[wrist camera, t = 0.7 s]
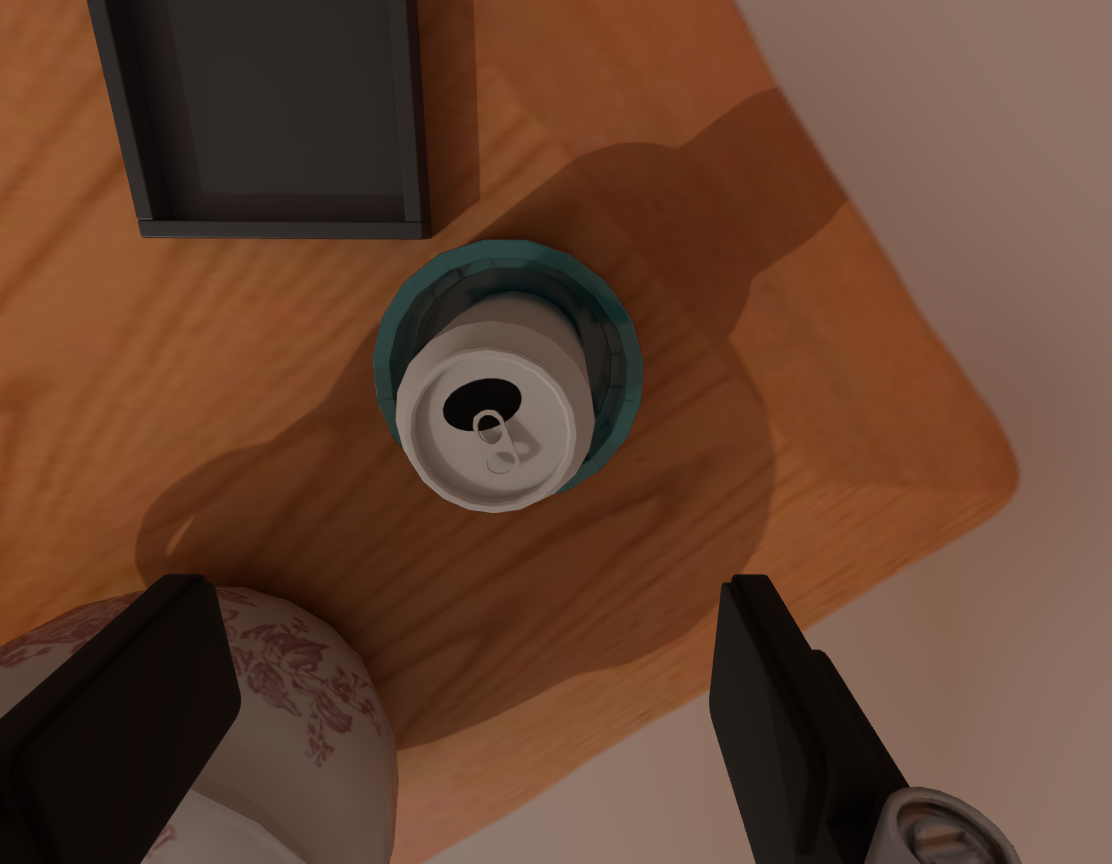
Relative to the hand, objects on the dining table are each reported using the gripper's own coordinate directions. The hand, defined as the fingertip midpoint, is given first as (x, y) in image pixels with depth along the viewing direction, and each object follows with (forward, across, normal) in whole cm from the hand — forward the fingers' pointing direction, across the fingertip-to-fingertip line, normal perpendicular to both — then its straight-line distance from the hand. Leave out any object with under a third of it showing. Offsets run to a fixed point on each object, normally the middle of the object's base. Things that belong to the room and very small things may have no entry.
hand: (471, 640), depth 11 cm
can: (+22, +1, 0) cm, 22 cm away
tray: (+22, +12, -14) cm, 29 cm away
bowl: (+22, +1, 0) cm, 22 cm away
